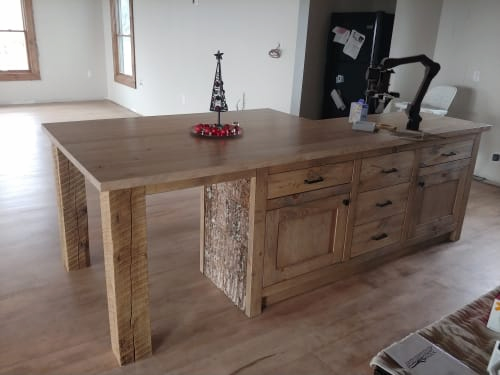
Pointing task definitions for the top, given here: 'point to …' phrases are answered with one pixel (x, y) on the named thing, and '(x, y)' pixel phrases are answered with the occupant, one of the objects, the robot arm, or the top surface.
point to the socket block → (385, 126)
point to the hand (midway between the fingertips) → (379, 109)
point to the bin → (363, 126)
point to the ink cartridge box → (358, 111)
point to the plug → (380, 106)
